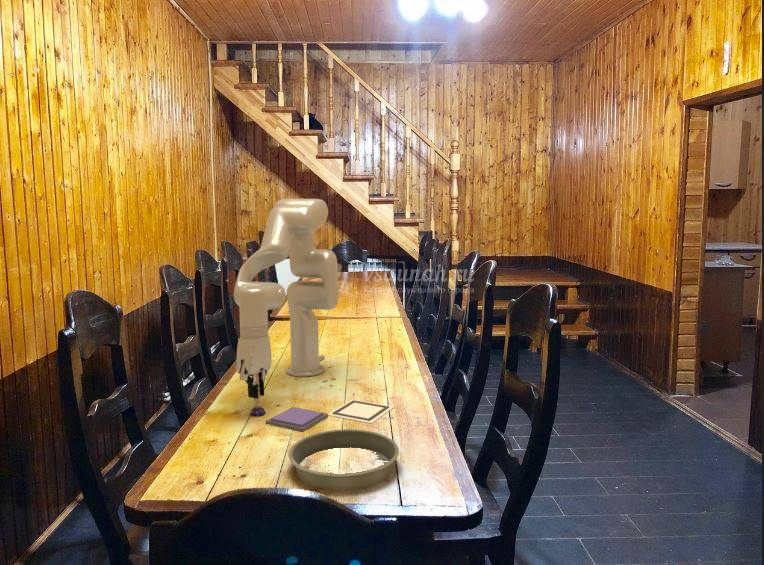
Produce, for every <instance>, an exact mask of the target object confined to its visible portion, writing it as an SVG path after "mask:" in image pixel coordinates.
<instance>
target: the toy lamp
mask: <svg viewBox="0 0 764 565" xmlns="http://www.w3.org/2000/svg"><path fill="white" fill-rule="evenodd" d="M262 370H263V368H261V369H260V371H262ZM258 374H259V373H256V381H257V383H256V384H258V395H259V397H258V398H257V399H255V398H253V401H254V407H253V408H251V409H250V413H249V415H250V416H251V417H262V416H264V415H265V414H266V410H265V408H264V407H263V406H262V405H261V396H260V392H259V390H260V388H259V381H258V380H259V376H258Z"/></svg>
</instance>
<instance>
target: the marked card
mask: <svg viewBox="0 0 764 565" xmlns="http://www.w3.org/2000/svg"><path fill="white" fill-rule="evenodd" d="M392 408H393V409H395V406H392V405H386V404H380V403H374V402H370V401H363V400H357V399H350V400H349V401H347V402H345V403H344V404H342V405H340V406H339V407H337V408H335V409H334V410H331V412H329V413H327V414H328V417H329V416H330V417H335V418H339V417H340V419H345V418H346V420H350V419H351V421H355V420H356V422H360V421H361V422H360V423H365V422H366V423H367V424H371V423H372V424H373V423H375V422H376V421H378V420H379V419H380V418H381V416H382V417H383V416H384V415H386V414H387V413H388V411H389V410H390V411H392V410H393V409H392ZM390 411H389V412H390ZM385 413H386V414H385ZM378 418H379V419H378Z"/></svg>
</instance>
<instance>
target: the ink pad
mask: <svg viewBox="0 0 764 565" xmlns="http://www.w3.org/2000/svg"><path fill="white" fill-rule="evenodd" d="M328 417H329V415H328V413H323V412H321V411H316V410H312V409H306V408H301V407H295V406H291V407H290V408H288V409H286V410H284V411H282V412H281V413H278V414H276V415H274V416H273V417H271V418H269V419H266V421H265V425H268V424H270V425H269V426H273V425H274V426H273V427H278V426H279V427H278V428H283V427H284V428H283V429H287V428H288V430H293V431H298V432H304V433H305V431H307V430H308V429H310V428H312V427H313V426H315V425H317V424H319V423H320V422H322V421H324V420H325V419H326V418H328Z"/></svg>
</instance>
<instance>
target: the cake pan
mask: <svg viewBox="0 0 764 565" xmlns="http://www.w3.org/2000/svg"><path fill="white" fill-rule="evenodd" d="M350 447H351V448H361V449H366V450H370V451H373V452H372V453H374V452H376V454H375V455H378V456H377V457H379V458H377V459H379V460H382V461H388V462H383V463H384V465H381V466H379V467H377V468H374V469H371V470H367V471H362V472H356V473H345V474H334V473H331V472H330V473H328V472H321V471H317V470H313V469H310V468H306V467H305V466H303V465H301V464H302V463H303V462H304V461H305V460H306V459H305V458H306V457H308V456H310V455H312V454H314V453H316V452H319V451H323V450H328V449H333V448H350ZM399 455H400V449H399V445H398V444H397V442H395V440H393V439H392V438H390V437H388V436H386V435H384V434H381V433H379V432H375V431H370V430H364V429H352V428H349V429H348V428H347V429H346V428H345V429H344V428H342V429H331V430H326V431H321V432H317V433H313V434H310V435H308V436H306V437H303V438H302V439H300V440H298V441H296V442H295V443H294V444H293V445H292V446H291V447H290V448H289V451H288V459H289V461H290V462H291V465H293V466H294V468H295V470H296V473H297V475H298V476H297V477H298V478H300V479H301V481H302V482H304V483H306V484H307V485H310V486H313V487H315V488H318V487H319V489H323V490H328V491H329V490H330V491H331V490H332V491H351V490H352V491H353V490H361V489H366V488H368V487H372V486H375V485H377V484H380V483H382V482H383V481H384V480H386V479H387V478H388V477H389V476H390V475H391V473H392V471H393V466H394V462H395V461H396V460H397V458H398V456H399ZM304 459H305V460H304ZM303 460H304V461H303ZM302 461H303V462H302ZM300 463H301V464H300ZM328 466H329V465H328ZM325 467H326V466H325Z"/></svg>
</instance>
